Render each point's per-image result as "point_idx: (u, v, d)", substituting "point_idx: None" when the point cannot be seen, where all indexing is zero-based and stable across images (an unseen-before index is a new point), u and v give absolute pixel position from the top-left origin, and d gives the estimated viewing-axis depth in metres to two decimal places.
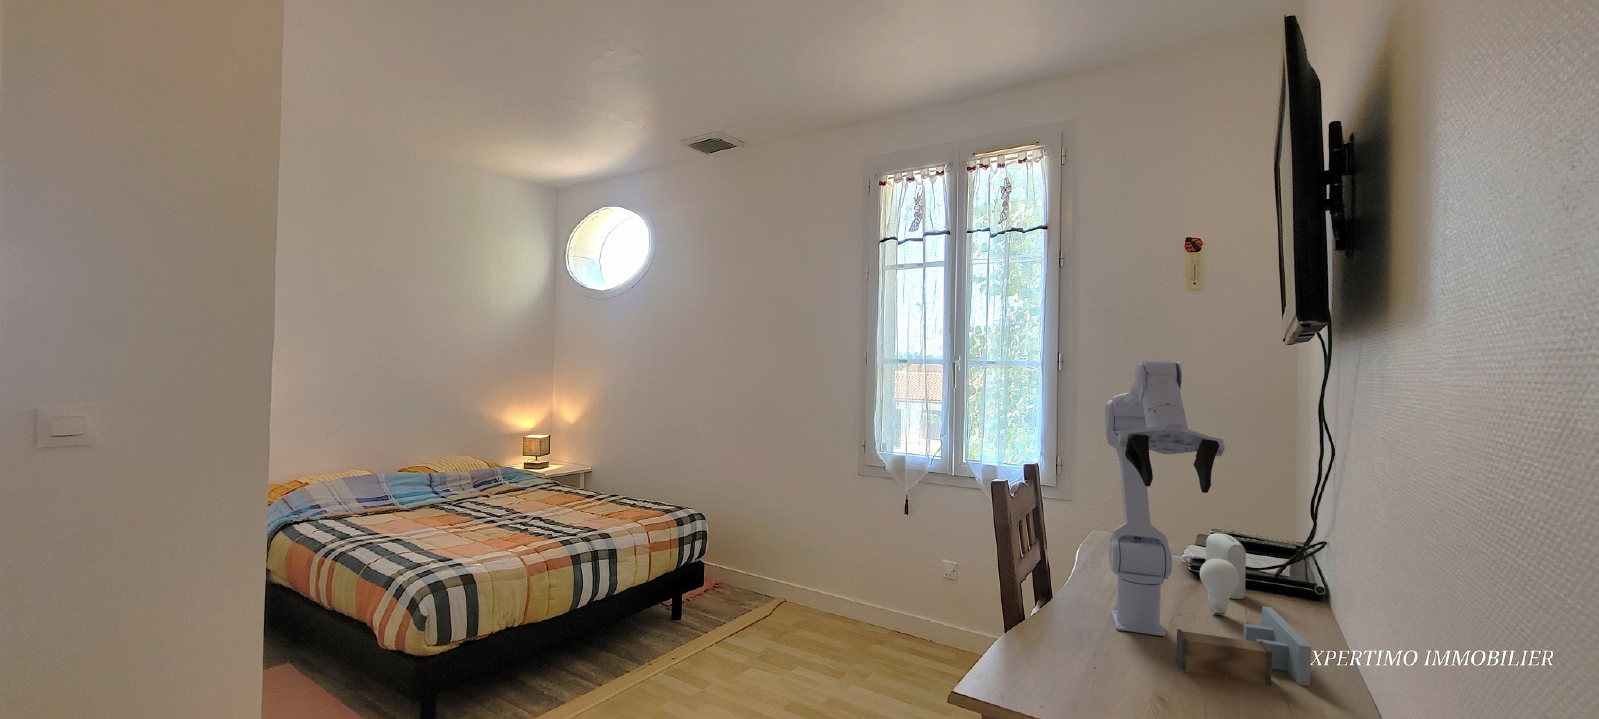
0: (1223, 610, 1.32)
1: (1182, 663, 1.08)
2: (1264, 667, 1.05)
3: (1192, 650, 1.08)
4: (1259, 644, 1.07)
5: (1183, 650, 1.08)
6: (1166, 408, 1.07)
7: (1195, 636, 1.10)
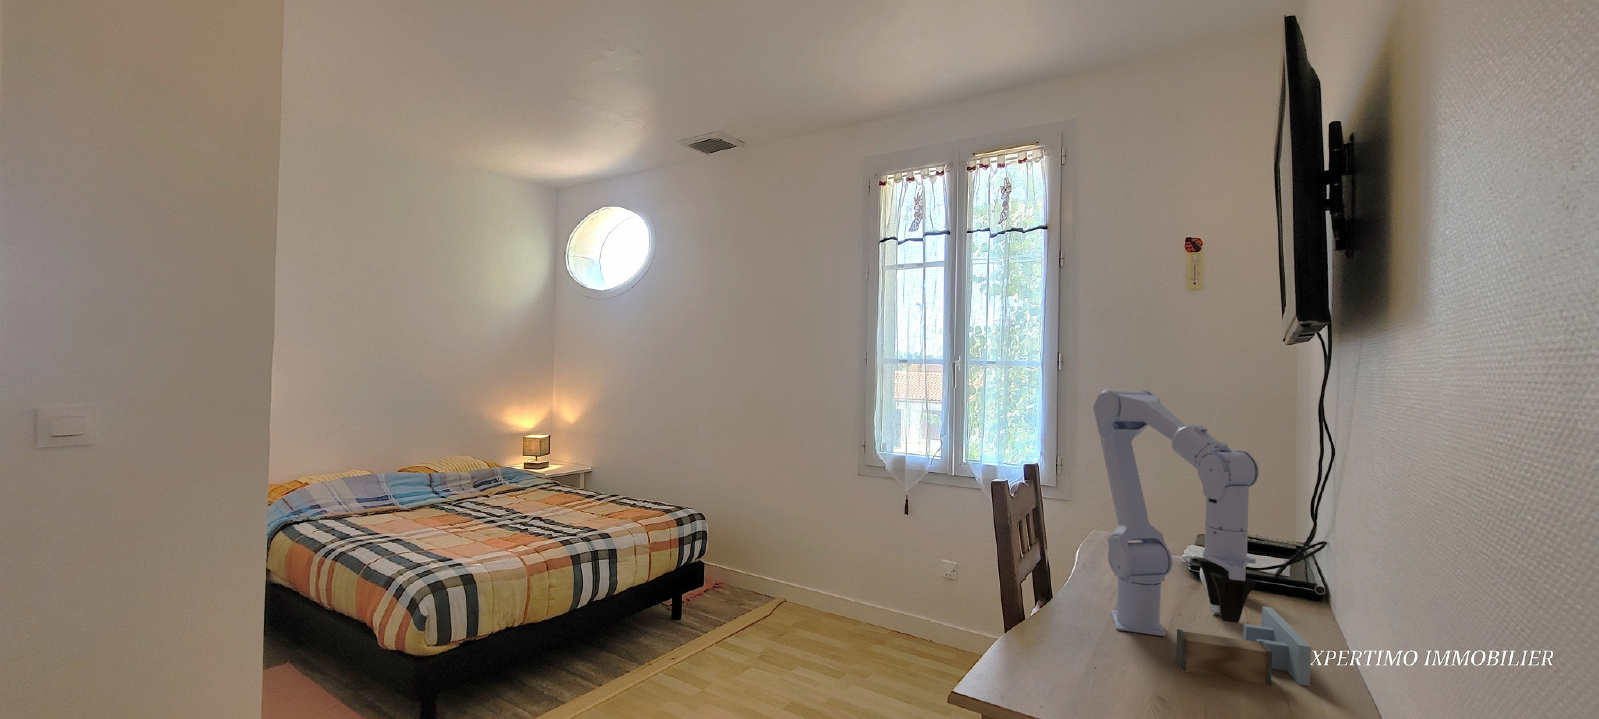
0: None
1: (1182, 663, 1.08)
2: (1264, 667, 1.05)
3: (1192, 650, 1.08)
4: (1259, 644, 1.07)
5: (1183, 650, 1.08)
6: None
7: (1195, 636, 1.10)
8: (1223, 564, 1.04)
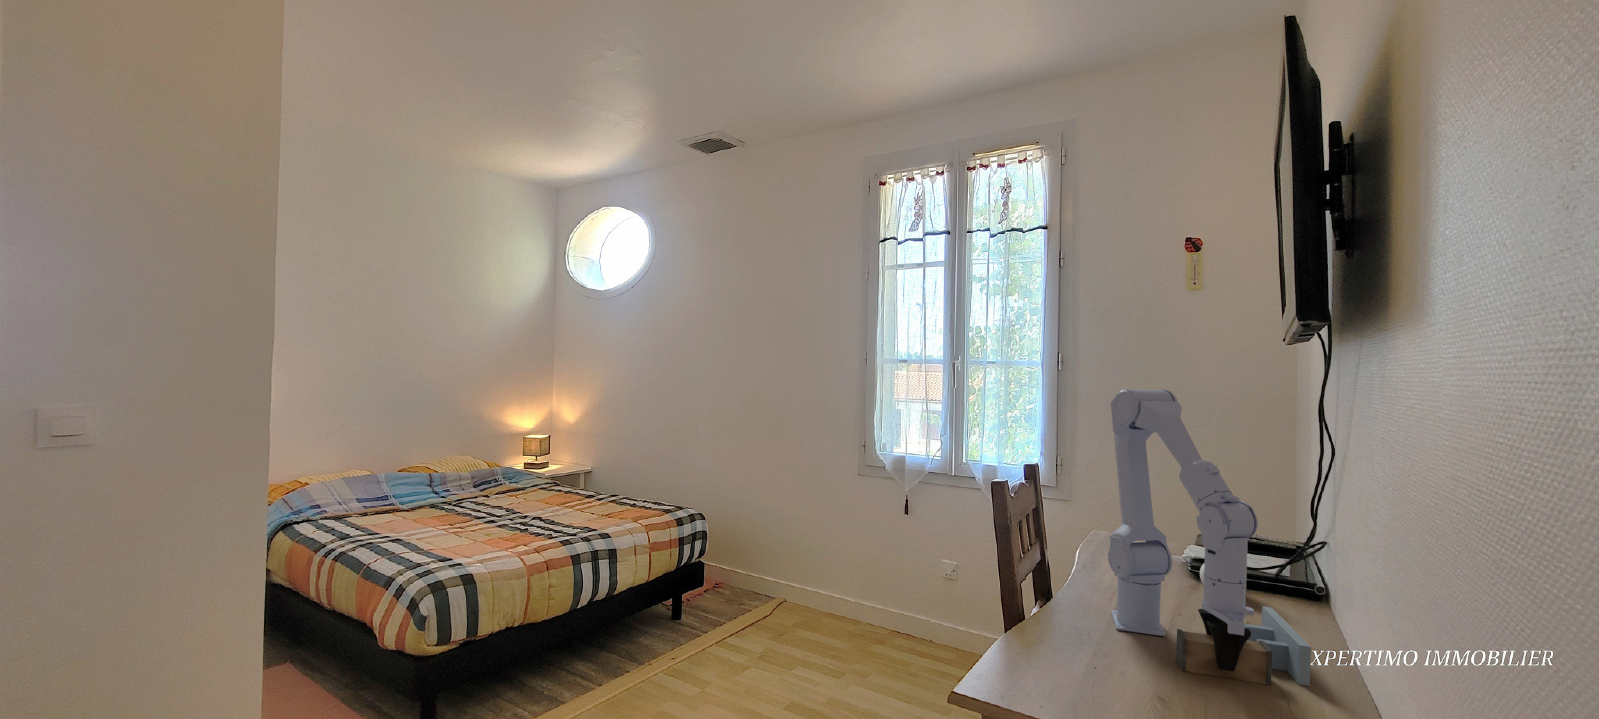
0: None
1: (1182, 663, 1.08)
2: (1264, 667, 1.05)
3: (1192, 650, 1.08)
4: (1259, 644, 1.07)
5: (1183, 650, 1.08)
6: None
7: (1195, 636, 1.10)
8: (1222, 617, 1.04)
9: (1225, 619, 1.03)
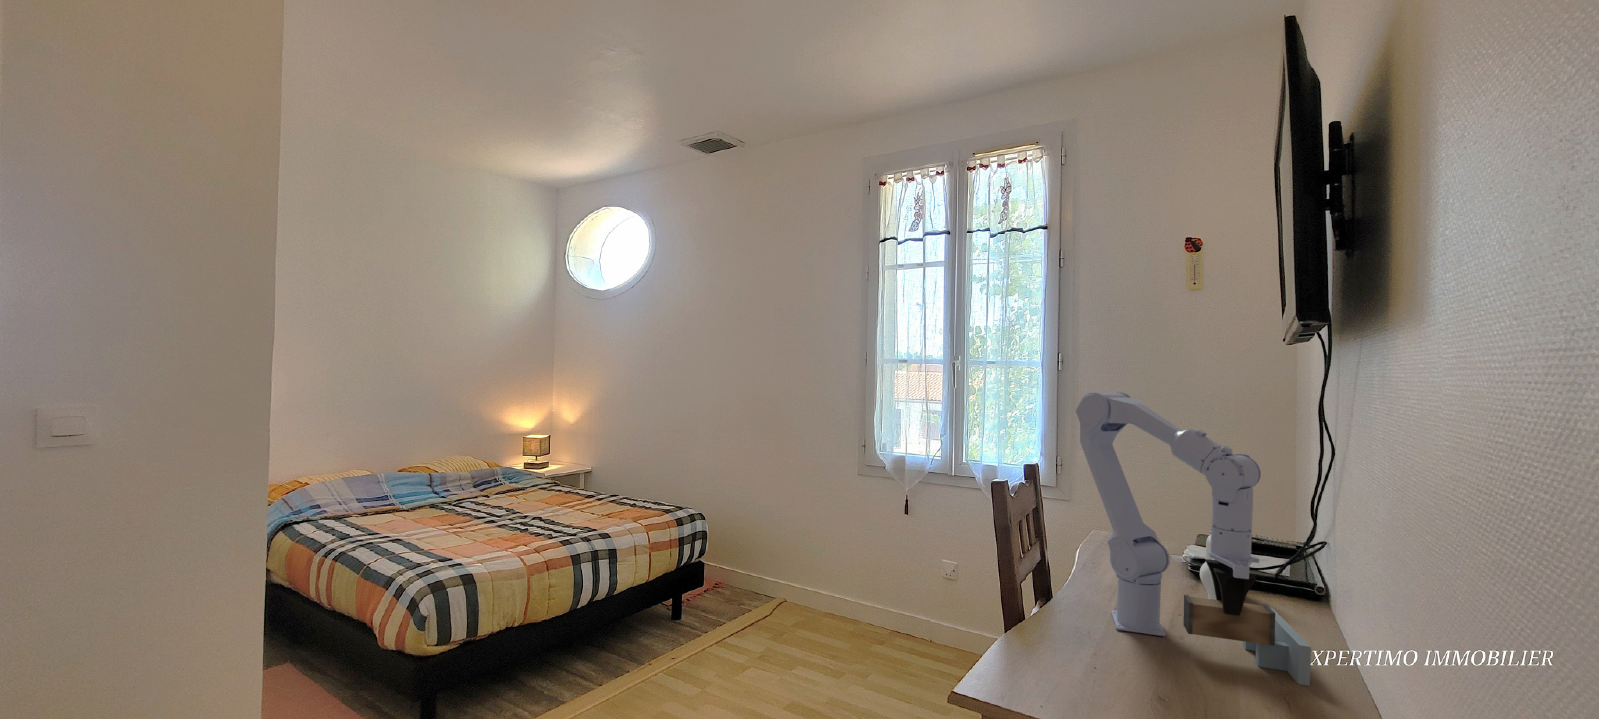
0: None
1: (1189, 626, 1.13)
2: (1268, 628, 1.09)
3: (1198, 613, 1.13)
4: (1263, 607, 1.12)
5: (1190, 613, 1.13)
6: (1251, 534, 1.12)
7: (1201, 600, 1.15)
8: (1228, 563, 1.09)
9: (1231, 564, 1.08)
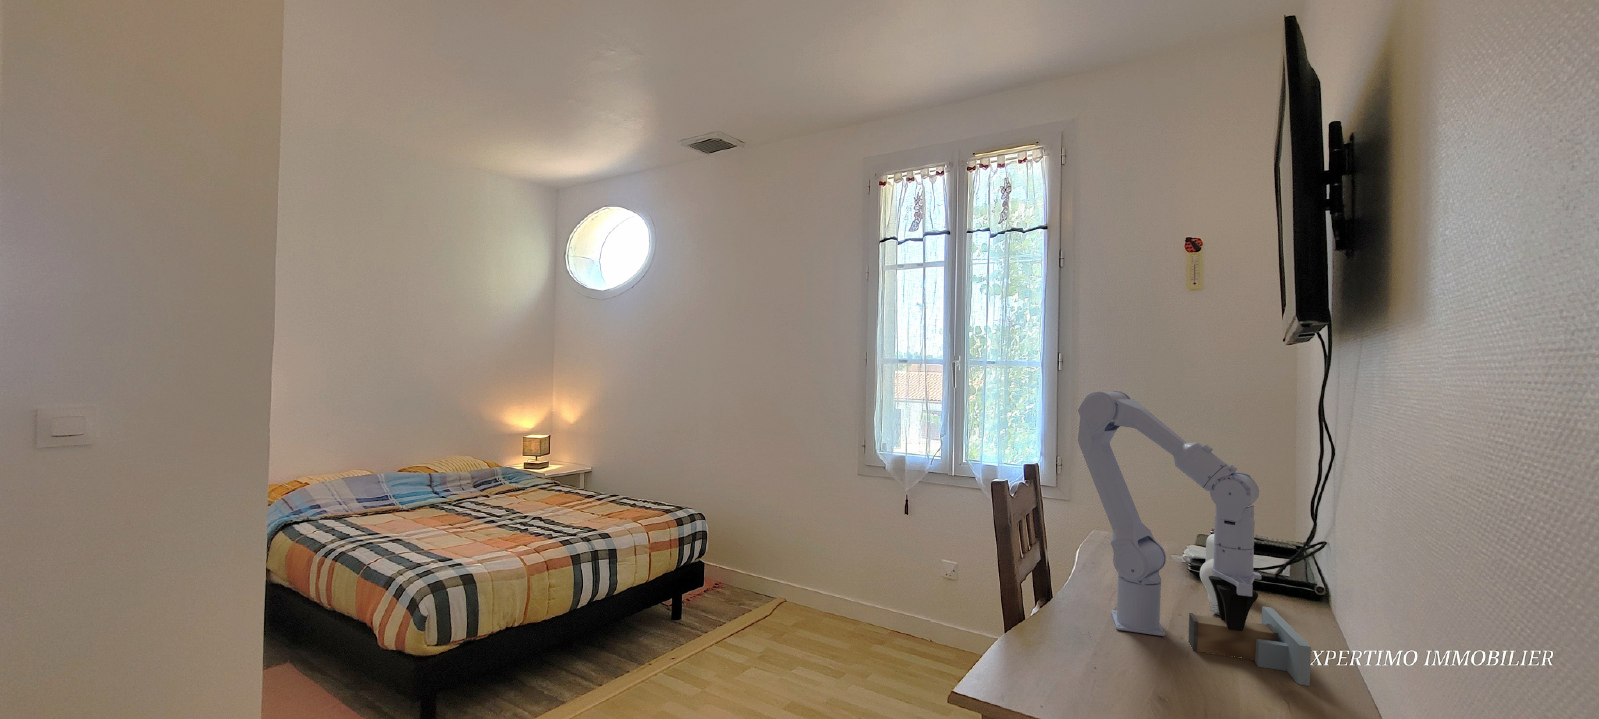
0: None
1: (1194, 644, 1.16)
2: None
3: (1203, 632, 1.16)
4: (1266, 626, 1.15)
5: (1195, 632, 1.16)
6: None
7: (1206, 619, 1.18)
8: (1231, 580, 1.11)
9: (1234, 582, 1.10)
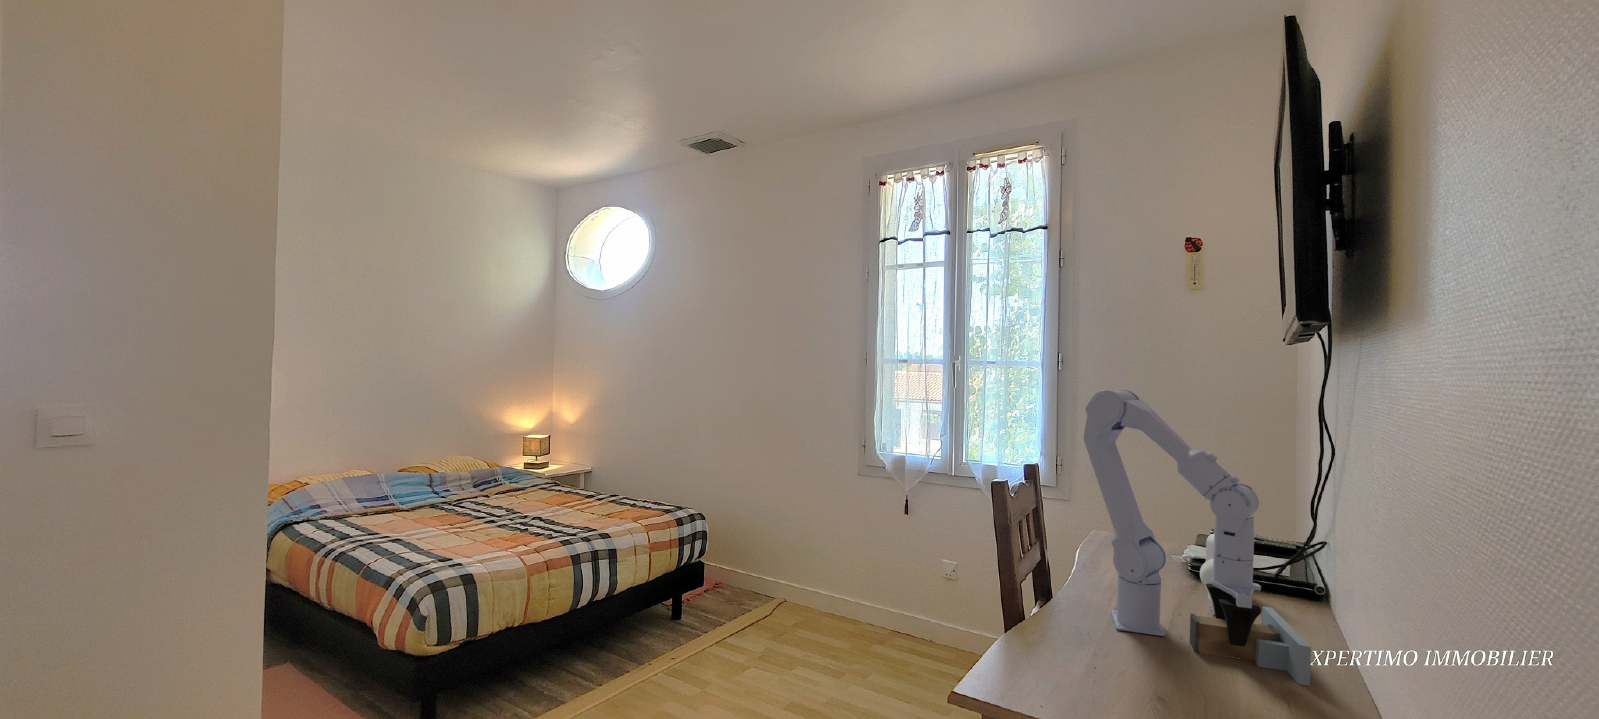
0: None
1: (1195, 645, 1.16)
2: None
3: (1205, 633, 1.15)
4: (1268, 627, 1.15)
5: (1196, 632, 1.16)
6: None
7: (1207, 620, 1.17)
8: (1231, 592, 1.11)
9: (1234, 593, 1.11)
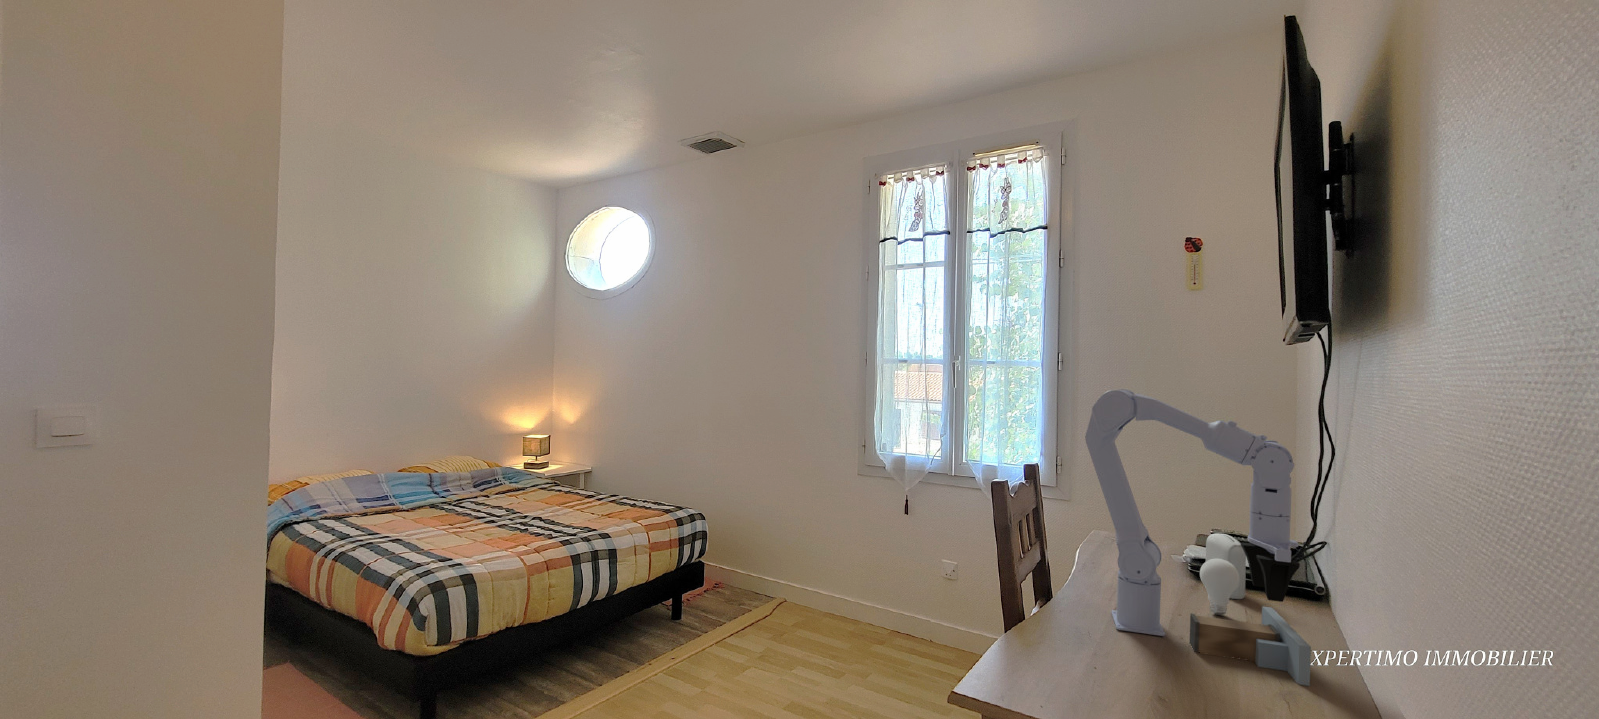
0: (1223, 610, 1.32)
1: (1195, 645, 1.16)
2: None
3: (1205, 633, 1.15)
4: (1268, 627, 1.15)
5: (1196, 632, 1.16)
6: (1290, 519, 1.14)
7: (1207, 620, 1.17)
8: (1269, 547, 1.11)
9: (1272, 548, 1.11)
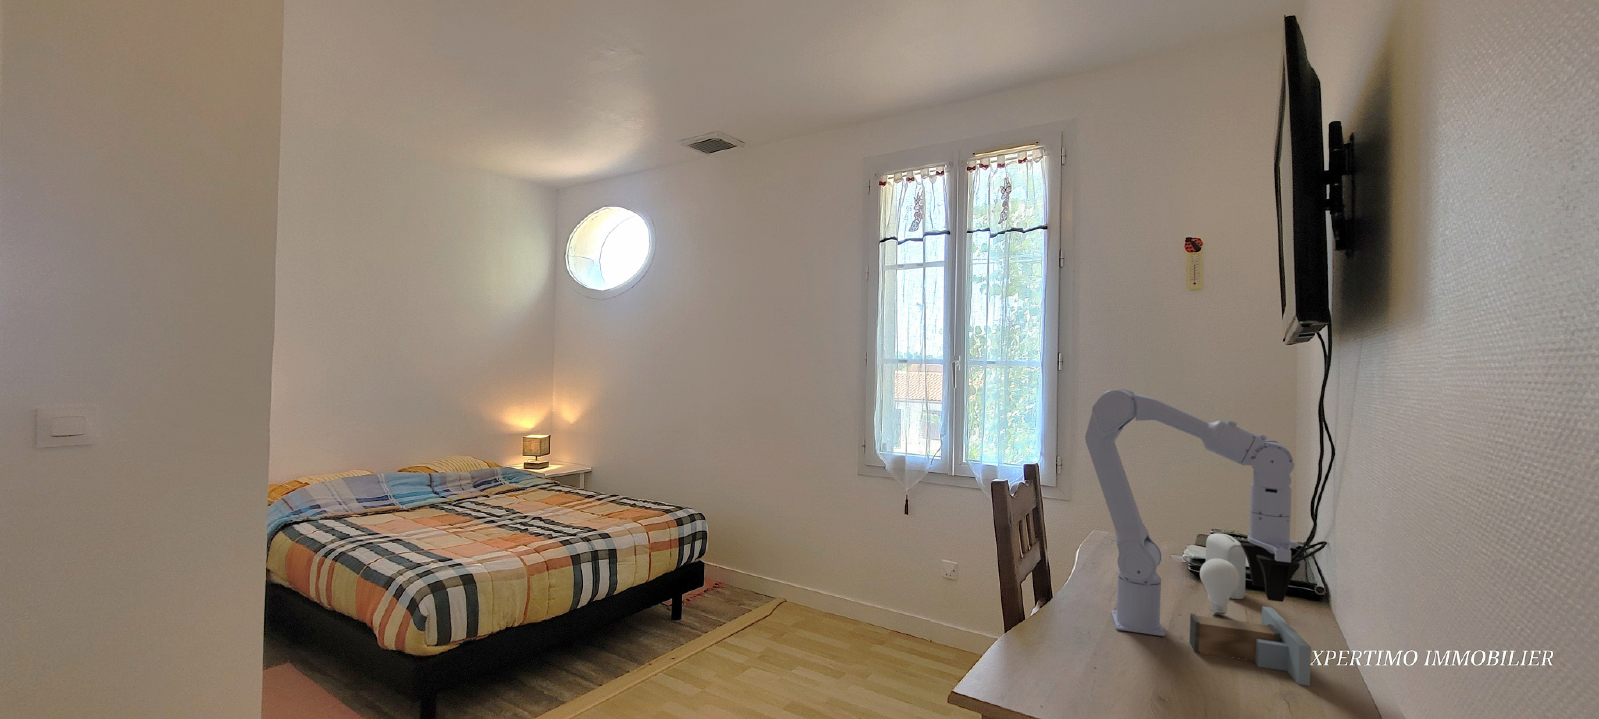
0: (1223, 610, 1.32)
1: (1195, 645, 1.16)
2: None
3: (1205, 633, 1.15)
4: (1268, 627, 1.15)
5: (1196, 632, 1.16)
6: (1290, 519, 1.14)
7: (1207, 620, 1.17)
8: (1269, 547, 1.11)
9: (1272, 548, 1.11)
